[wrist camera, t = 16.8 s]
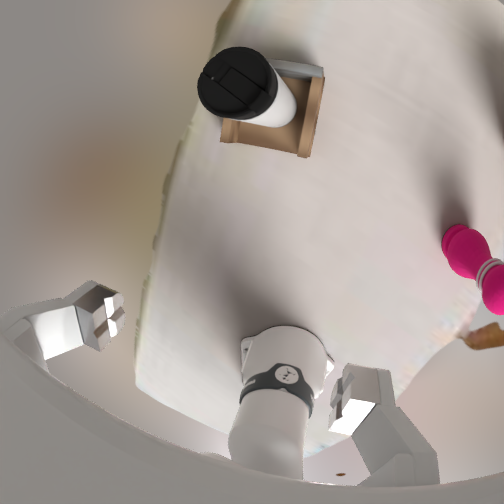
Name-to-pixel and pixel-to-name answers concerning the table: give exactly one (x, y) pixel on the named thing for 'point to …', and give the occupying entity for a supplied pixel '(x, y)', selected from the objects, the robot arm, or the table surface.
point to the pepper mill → (476, 264)
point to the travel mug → (246, 89)
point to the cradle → (303, 124)
